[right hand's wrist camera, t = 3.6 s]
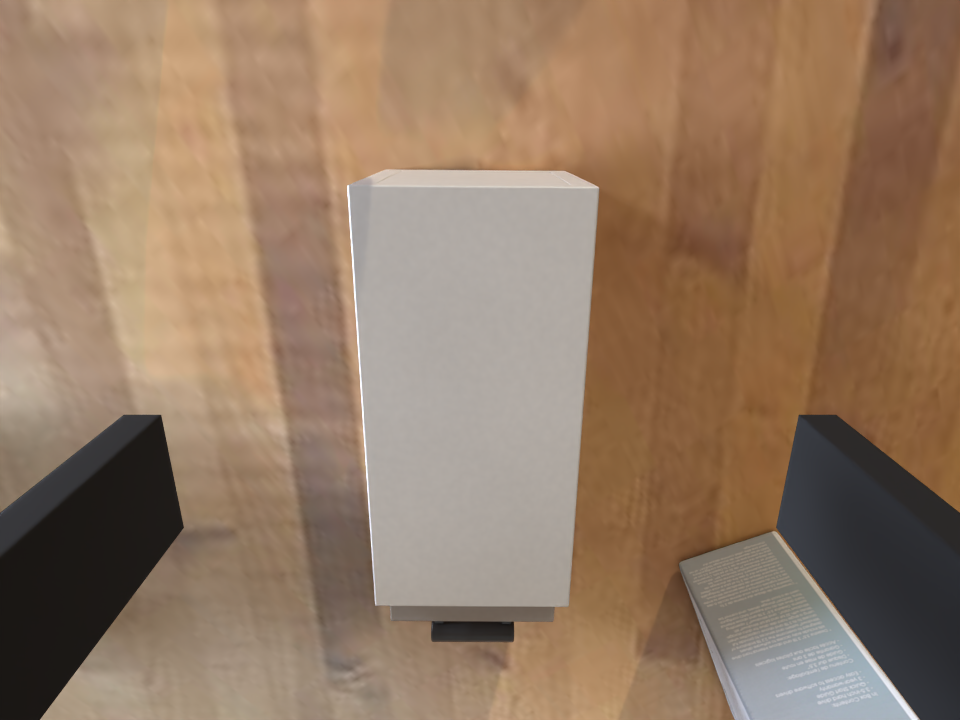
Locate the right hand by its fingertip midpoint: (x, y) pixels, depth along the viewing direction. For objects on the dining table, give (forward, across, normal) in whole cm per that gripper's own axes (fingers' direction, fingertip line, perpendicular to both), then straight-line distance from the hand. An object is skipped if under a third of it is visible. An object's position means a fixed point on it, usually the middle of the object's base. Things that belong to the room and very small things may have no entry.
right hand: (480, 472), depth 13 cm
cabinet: (+26, 0, -6) cm, 26 cm away
